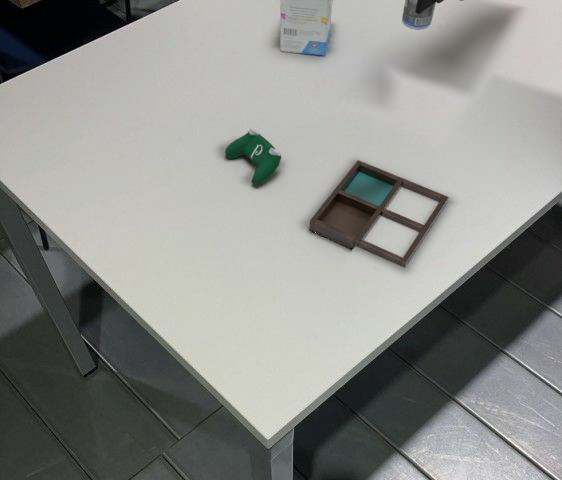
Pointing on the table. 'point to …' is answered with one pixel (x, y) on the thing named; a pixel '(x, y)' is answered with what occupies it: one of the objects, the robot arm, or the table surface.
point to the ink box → (305, 26)
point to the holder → (369, 210)
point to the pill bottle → (417, 16)
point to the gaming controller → (256, 154)
